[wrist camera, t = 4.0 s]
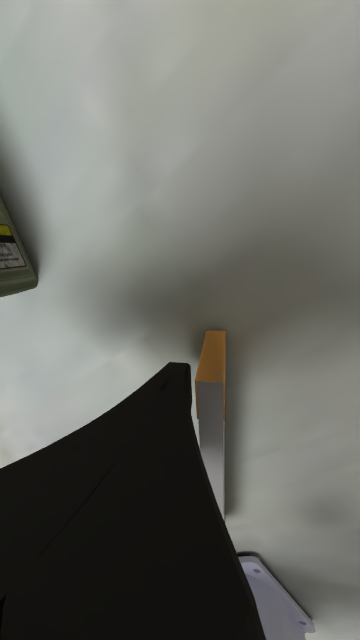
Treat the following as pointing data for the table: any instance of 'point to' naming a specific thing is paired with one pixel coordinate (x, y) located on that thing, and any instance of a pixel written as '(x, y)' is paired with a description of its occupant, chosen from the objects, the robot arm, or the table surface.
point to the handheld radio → (13, 259)
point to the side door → (212, 410)
